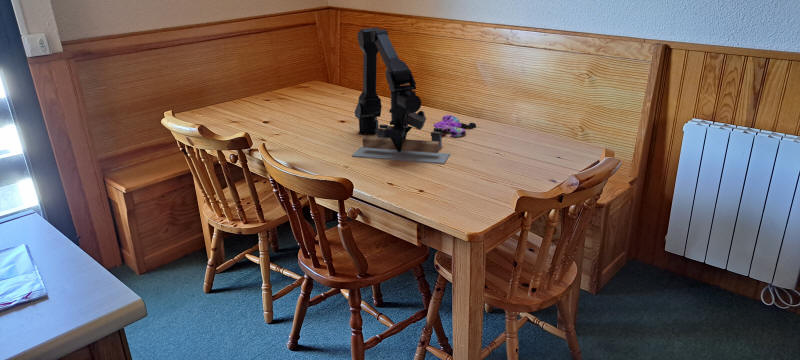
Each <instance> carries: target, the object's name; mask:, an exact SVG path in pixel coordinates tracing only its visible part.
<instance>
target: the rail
mask: <svg viewBox="0 0 800 360" xmlns="http://www.w3.org/2000/svg"><path fill="white" fill-rule="evenodd" d="M362 147H364V148H377V149H390V150H397V149H396V147H395V146H394V144H393V142H392V140H391V138H382V137H377V136H368V135H366V136H364V137H363V138H362ZM401 150H403V151H416V152H429V153H440V152H439V151H440V149H439V142H437V141H432V140H421V139H407V138H406V139H403V142H402V149H401Z"/></svg>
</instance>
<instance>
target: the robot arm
mask: <svg viewBox="0 0 800 360" xmlns="http://www.w3.org/2000/svg"><path fill="white" fill-rule="evenodd" d="M357 42H358V47H360V50H361V51H362V53H363V55H362V56H363V57H362V59H363V60H362V62H363V63H362V65H363V66H362V92H361V93H360V95H359V97H358V102H357V104H356V107H355V110H354V117H355V118H356V119H358V129H359V131H358V132H357V134H358V135H366V136H368V135H369V136H375V135H377V132H376V131H375V129H376V128H379V129H380V124H379V120H378V118H380V117H381V114H382V99H381V98H380V97H379V94H378V93H377V71H378V70H377V65H378V64H377V63H378V62H377V60H378V59H377V58H378V53H379V55H380V57H381V59H382V61H383V62H384V65H385V68H386V71H385V78H386V81H387V83H388V86H389V87H388V89H389V90H390V109H389V113H390V117H391V120H389V125H388V127H387V128H386V129H385V130H384V131H383V134H384V138H391V140H392V142H393V144H394V146H395V147H396V149H397V151H398V152H401V149H402V142H403V139H407V135H408V133H410V131H411V130H412V129H413V128H415V129H416V130H419V131H420V130H422V129H423V127H424V125H425V122H426V121H427V117H426V115H425V111H424V110H421V109H420V108H421V106H422V100H421V98H420V96H418V95H417V94H416V90H417V86H416V84H417V83H416V80H415V78H414V75H413V74H412V70H411V69H410V67H409V66H408V65H407V63H406V62H405V61H403V60H401V59H400V57H399V56H398V53H397V51H396V49H395V48H394V45H393V44H392V42H391V40H390V37H389V32H388V30H387V29H380V28H379V27H368V28H361V29H360V30H359V31H358V32H357Z"/></svg>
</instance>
